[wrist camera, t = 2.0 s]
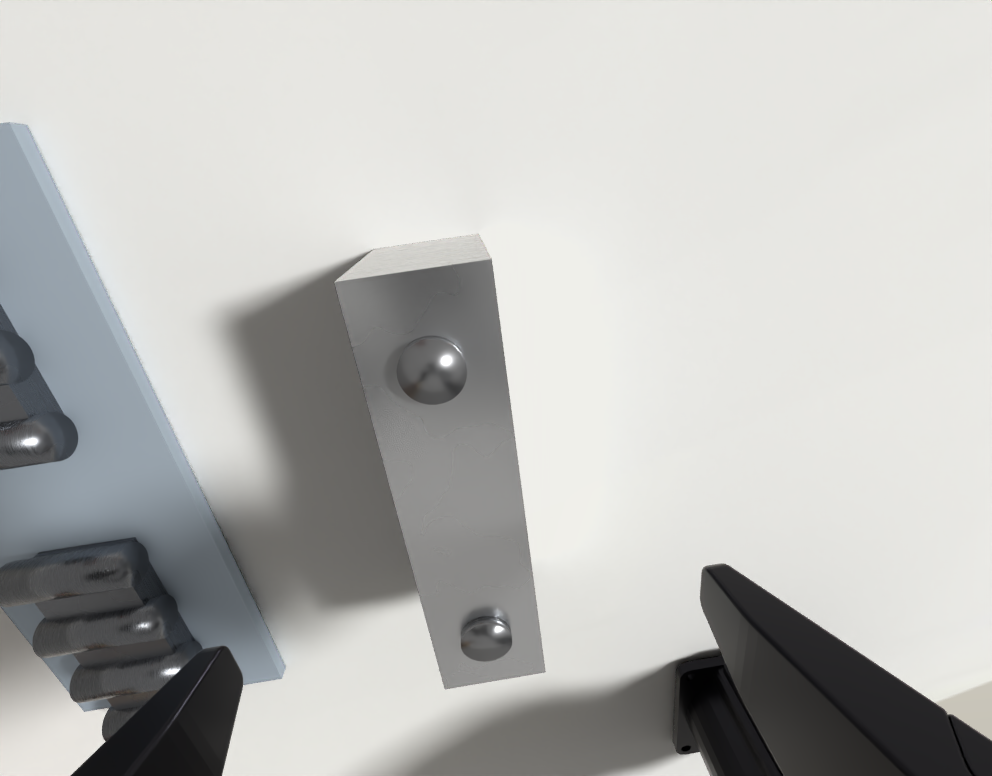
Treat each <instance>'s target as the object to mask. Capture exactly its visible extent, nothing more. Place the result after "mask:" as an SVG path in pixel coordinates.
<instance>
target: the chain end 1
mask: <svg viewBox="0 0 992 776" xmlns="http://www.w3.org/2000/svg"><path fill="white" fill-rule="evenodd" d="M77 444H78V432H77V429H76V426H75V424H74V423H73V422H72V420H71V419H70V418H69V417H67V416H66V415H65V414H64V413H63V411H62V409H61V408H60V406H59V404H58V402H57V401H56V399H55V397H54V395H53V394H52V392H51V390H50V389H49V387H48V385H47V383H46V382H45V380H44V378H43V376H42V375H41V373H40V371H39V370H38V368H37V366H36V364H35V358H34V354H33V352H32V350H31V348H30V346H29V345H28V344H27V342H26V341H25V340H24V339H22V338H21V337H20V336H19V335H18V333H17V331H16V330H15V328H14V326H13V325H12V323H11V321H10V319H9V318H8V316H7V314H6V312H5V311H4V309H3V307H2V306H1V304H0V470H6V469H12V468H19V467H25V466H32V465H38V464H45V463H51V462H58V461H63V460H65V459H67V458H69V457H70V456H71V455H72V454H73V453H74V451H75V450H76V448H77Z"/></svg>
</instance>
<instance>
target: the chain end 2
mask: <svg viewBox="0 0 992 776" xmlns="http://www.w3.org/2000/svg"><path fill="white" fill-rule="evenodd" d="M32 603H35V604H36V606H37V607H38V608H39V610H40V611H41V612H42V614H43V615H44V616H45V618H44V619H43V620H42V621H41V622H40V623H39V624H38V626H37V628H36V630H35V632H34V635H33V640H32V645H33V649H34V652H35V653H36V654H37V655H38V656H39V657H41V658H50V657H56V656H62V655H68V654H73V655H74V656H75V658H76V659H77V660H78V662H79V663H80V665H79V666H78V667H77V668H76V670H75V671H74V673H73V675H72V678H71V681H70V686H69V691H70V696H71V698H72V700H73V701H75V702H77V703H84V702H90V701H96V700H102V699H107V700H108V702H109V703H110V704H111V707H110V708H109V709H108V711H107V713H106V715H105V718H104V721H103V725H102V735H103V738H104V740H105V741H107V740H108V739H109V738H110V737H111V736H112V735H113V734H114V733H115V732H116V731H117V730H118V729H119V728H120V727H121V726H123V725H124V724H125V723H126V722H127V721H128V720H129V719H130V718H131V717H132V716H133V715H134V714H135V713H136V712H137V711H138V710H139V709H140V708H141V707H142V706H143V705H144V704H145V703H146V702H147V701H148V700H149V699H150V698H151V697H153V696H154V695H155V694H156V693H157V692H158V691H159V690H160V689H161V688H162V687H163V686H164V685H165V684H166V683H167V682H168V681H169V680H170V679H171V678H172V677H173V676H174V675H175V674H176V673H177V672H178V671H179V670H180V669H181V668H182V667H184V666H185V665H186V664H187V663H188V662H189V661H190V660H191V659H192V658H193V657H194V656H195V655H196V654H197V653H198V652H199V651H201V650H203V648H202V646H201V644H200V643H199V642H197V641H195V639H194V637H193V636H192V634H191V632H190V631H189V629H188V627H187V625H186V624H185V622H184V620H183V618H182V617H181V615H180V613H179V612H178V607H177V603H176V600H175V599H174V598H173V597H172V596H171V595H169V594H168V593H167V591H166V589H165V587H164V586H163V584H162V582H161V580H160V579H159V577H158V575H157V574H156V572H155V570H154V568H153V567H152V565H151V563H150V561H149V556H148V552H147V550H146V548H145V547H144V546H143V545H142V544H141V543H139V542H138V541H137V539H136V537H132V538H126V539H119V540H113V541H107V542H100V543H94V544H88V545H81V546H75V547H69V548H63V549H56V550H50V551H44V552H39V553H38V554H37V555H36V556H34V557H33V558H29V559H23V560H16V561H12V562H9V563H7V564H5V565H4V566H2V567H1V568H0V606H2V607H13V606H20V605H26V604H32Z"/></svg>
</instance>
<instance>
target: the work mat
mask: <svg viewBox="0 0 992 776" xmlns="http://www.w3.org/2000/svg"><path fill="white" fill-rule="evenodd" d="M0 304H1V306H2V307H3V309H4V311H5V312H6V314H7V316H8V318H9V319H10V321H11V323H12V325H13V326H14V328H15V330H16V331H17V333H18V335H19V336H20V337H21V338H22V339H24V340H25V341H26V342H27V344H28V345H29V346H30V348H31V350H32V352H33V354H34V358H35V364H36V366H37V368H38V370H39V371H40V373H41V375H42V376H43V378H44V380H45V382H46V383H47V385H48V387H49V389H50V390H51V392H52V394H53V395H54V397H55V399H56V401H57V402H58V404H59V406H60V408H61V409H62V411H63V413H64V414H65V415H66V416H67V417H69V418H70V419H71V420H72V422H73V423H74V424H75V426H76V429H77V432H78V444H77V448H76V450H75V451H74V453H73V454H72V455H71V456H70V457H69V458H67V459H65V460H63V461H58V462H51V463H45V464H38V465H32V466H25V467H19V468H12V469H6V470H0V568H1V567H2V566H4V565H5V564H7V563H9V562H12V561H16V560H23V559H29V558H33V557H34V556H36V555H37V554H38V553H39V552H44V551H50V550H56V549H63V548H69V547H75V546H81V545H88V544H94V543H100V542H107V541H113V540H119V539H126V538H132V537H136V539H137V541H138V542H139V543H141V544H142V545H143V546H144V547H145V548H146V550H147V552H148V556H149V561H150V563H151V565H152V567H153V568H154V570H155V572H156V574H157V575H158V577H159V579H160V580H161V582H162V584H163V586H164V587H165V589H166V591H167V593H168V594H169V595H171V596H172V597H173V598H174V599H175V600H176V603H177V607H178V612H179V613H180V615H181V617H182V618H183V620H184V622H185V624H186V625H187V627H188V629H189V631H190V632H191V634H192V636H193V637H194V639H195V641H197V642H199V643H200V644H201V646H202V648H203V649H205V648H210V647H216V646H226V647H228V648H229V649H230V651H231V653H232V655H233V656H234V658H235V660H236V662H237V664H238V666H239V668H240V670H241V671H242V675H243V685H246V684H252V683H258V682H264V681H270V680H276V679H282V677H283V674H284V671H285V668H286V666H285V664H284V662H283V660H282V658H281V656H280V654H279V652H278V650H277V647H276V645H275V643H274V641H273V639H272V637H271V635H270V633H269V631H268V629H267V626H266V624H265V622H264V620H263V618H262V616H261V614H260V612H259V610H258V608H257V606H256V603H255V601H254V599H253V597H252V595H251V593H250V591H249V589H248V587H247V585H246V582H245V580H244V578H243V576H242V574H241V572H240V570H239V568H238V566H237V564H236V562H235V559H234V557H233V555H232V553H231V551H230V549H229V547H228V545H227V543H226V541H225V539H224V536H223V534H222V532H221V530H220V528H219V526H218V524H217V522H216V520H215V518H214V515H213V513H212V511H211V509H210V507H209V505H208V503H207V501H206V499H205V497H204V495H203V492H202V490H201V488H200V486H199V484H198V482H197V480H196V478H195V476H194V474H193V472H192V469H191V467H190V465H189V463H188V461H187V459H186V457H185V455H184V453H183V451H182V448H181V446H180V444H179V442H178V440H177V438H176V436H175V434H174V432H173V430H172V428H171V425H170V423H169V421H168V419H167V417H166V415H165V413H164V411H163V409H162V407H161V404H160V402H159V400H158V398H157V396H156V394H155V392H154V390H153V388H152V386H151V384H150V381H149V379H148V377H147V375H146V373H145V371H144V369H143V367H142V365H141V363H140V361H139V358H138V356H137V354H136V352H135V350H134V348H133V346H132V344H131V342H130V340H129V337H128V335H127V333H126V331H125V329H124V327H123V325H122V323H121V321H120V319H119V317H118V314H117V312H116V310H115V308H114V306H113V304H112V302H111V300H110V298H109V296H108V293H107V291H106V289H105V287H104V285H103V283H102V281H101V279H100V277H99V275H98V273H97V270H96V268H95V266H94V264H93V262H92V260H91V258H90V256H89V254H88V252H87V250H86V247H85V245H84V243H83V241H82V239H81V237H80V235H79V233H78V231H77V229H76V226H75V224H74V222H73V220H72V218H71V216H70V214H69V212H68V210H67V208H66V206H65V203H64V201H63V199H62V197H61V195H60V193H59V191H58V189H57V187H56V185H55V182H54V180H53V178H52V176H51V174H50V172H49V170H48V168H47V166H46V164H45V162H44V159H43V157H42V155H41V153H40V151H39V149H38V147H37V145H36V143H35V141H34V139H33V136H32V134H31V132H30V130H29V128H28V126H27V125H25V124H17V123H10V122H8V123H0ZM0 607H1V608H2V609H3V610H4V612H5V613H6V614H7V615H8V617H9V618H10V619H11V620H12V622H13V623H14V624H15V625H16V627H17V628H18V629H19V630H20V632H21V633H22V634H23V635H24V637H25V638H26V639H27V640H28V642H29V643H30V644H31V645H32V640H33V635H34V632H35V630H36V628H37V626H38V624H39V623H40V622H41V621H42V620H43V619H44V618H45V616H44V615H43V614H42V612H41V611H40V610H39V608H38V607H37V606H36V604H35V603H32V604H26V605H20V606H13V607H2V606H0ZM32 647H33V645H32ZM42 659H43V661H44V662H45V663H46V664H47V666H48V667H49V668H50V669H51V671H52V672H53V673H54V674H55V676H56V677H57V678H58V679H59V681H60V682H61V683H62V684H63V686H64V687H65V688H66V689H67V691H68V692H69V693H70V691H69V686H70V681H71V678H72V675H73V673H74V671H75V670H76V668H77V667H78V666H79V665H80V663H79V662H78V660H77V659H76V658H75V656H74V655H73V654H68V655H62V656H56V657H50V658H42ZM78 705H79V706H80V707H81V708H82V710H83V711H84V712H85V711H91V710H97V709H103V708H109V707H111V704H110V703H109V702H108V700H107V699H102V700H96V701H90V702H84V703H78Z"/></svg>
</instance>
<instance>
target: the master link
mask: <svg viewBox="0 0 992 776" xmlns="http://www.w3.org/2000/svg"><path fill="white" fill-rule="evenodd" d="M334 284H335V288H336V291H337V295H338V299H339V302H340V306H341V310H342V313H343V317H344V321H345V324H346V328H347V332H348V335H349V339H350V343H351V346H352V350H353V354H354V357H355V361H356V365H357V368H358V372H359V376H360V380H361V383H362V387H363V391H364V394H365V398H366V402H367V405H368V409H369V413H370V416H371V420H372V424H373V427H374V431H375V435H376V438H377V442H378V446H379V449H380V453H381V457H382V460H383V464H384V468H385V471H386V475H387V479H388V482H389V486H390V490H391V493H392V497H393V501H394V504H395V508H396V512H397V515H398V519H399V523H400V526H401V530H402V534H403V537H404V541H405V545H406V548H407V552H408V556H409V560H410V563H411V567H412V571H413V574H414V578H415V582H416V585H417V589H418V593H419V596H420V600H421V604H422V607H423V611H424V615H425V618H426V622H427V626H428V629H429V633H430V637H431V640H432V644H433V648H434V651H435V655H436V659H437V662H438V666H439V670H440V673H441V677H442V681H443V684H444V688H445V689H450V688H455V687H461V686H467V685H473V684H479V683H485V682H491V681H497V680H503V679H509V678H515V677H521V676H526V675H532V674H538V673H544V672H545V665H544V657H543V649H542V641H541V634H540V626H539V618H538V611H537V603H536V595H535V588H534V580H533V572H532V565H531V557H530V549H529V542H528V534H527V526H526V519H525V511H524V503H523V496H522V488H521V480H520V473H519V465H518V457H517V449H516V442H515V434H514V426H513V419H512V411H511V403H510V396H509V388H508V380H507V373H506V365H505V357H504V350H503V342H502V334H501V327H500V319H499V311H498V304H497V296H496V288H495V281H494V273H493V265H492V259H491V257H490V255H489V253H488V251H487V249H486V247H485V245H484V243H483V241H482V239H481V237H480V235H479V234H474V235H467V236H460V237H453V238H446V239H439V240H433V241H426V242H419V243H412V244H405V245H398V246H391V247H384V248H378V249H373V250H372V251H371V252H370V253H368V254H367V255H366V256H365V257H364V258H362V259H361V260H360V261H359V262H358V263H356V264H355V265H354V266H353V267H352V268H350V269H349V270H348V271H347V272H346V273H344V274H343V275H342V276H341V277H339V278H338V279H337V280H336V281H335V282H334Z"/></svg>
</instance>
